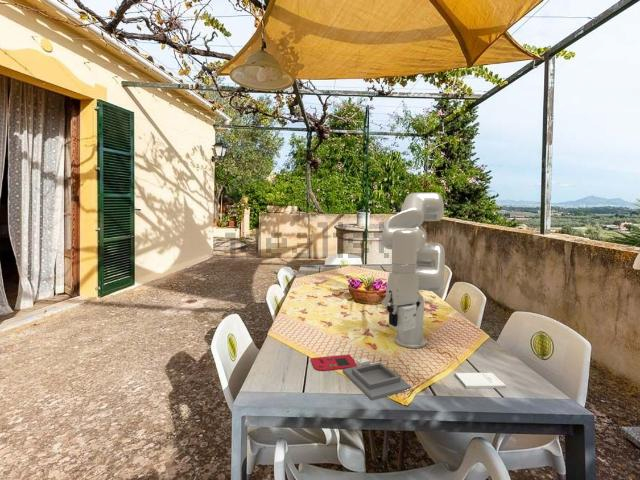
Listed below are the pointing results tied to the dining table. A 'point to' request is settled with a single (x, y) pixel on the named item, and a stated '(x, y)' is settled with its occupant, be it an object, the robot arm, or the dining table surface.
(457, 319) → the dining table surface
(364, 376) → the charging dock
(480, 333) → the dining table surface
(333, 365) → the handheld gaming console
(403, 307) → the skincare box
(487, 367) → the dining table surface
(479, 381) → the external hard drive
